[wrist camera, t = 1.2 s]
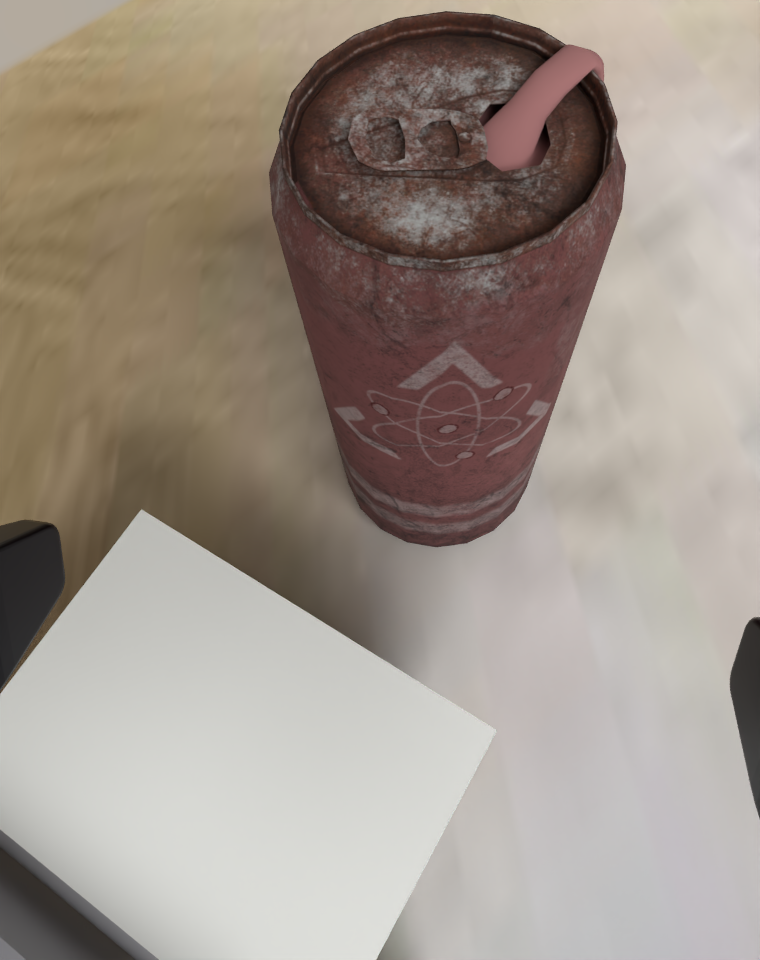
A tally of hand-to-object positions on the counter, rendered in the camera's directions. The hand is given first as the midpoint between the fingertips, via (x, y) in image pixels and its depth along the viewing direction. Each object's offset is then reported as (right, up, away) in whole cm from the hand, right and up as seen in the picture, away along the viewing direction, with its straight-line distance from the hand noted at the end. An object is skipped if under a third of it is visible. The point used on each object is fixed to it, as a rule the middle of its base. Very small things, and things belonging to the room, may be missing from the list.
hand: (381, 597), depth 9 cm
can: (+2, +2, +15) cm, 16 cm away
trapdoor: (-5, -8, +10) cm, 13 cm away
